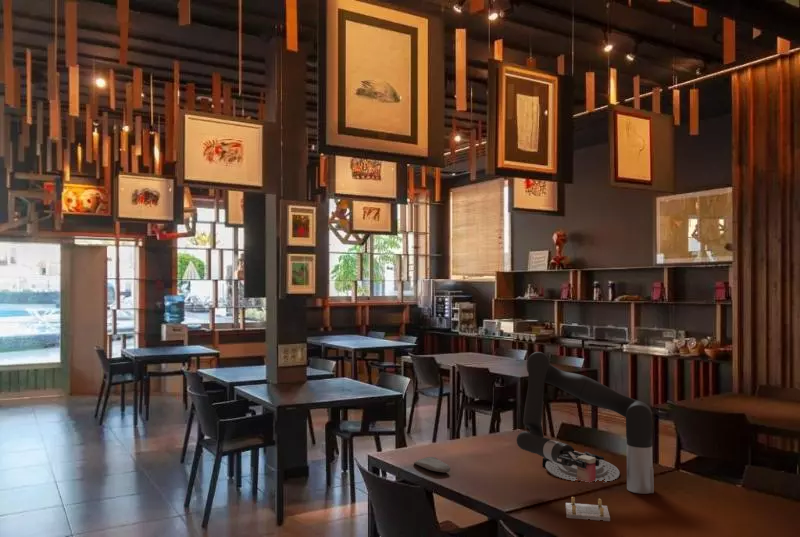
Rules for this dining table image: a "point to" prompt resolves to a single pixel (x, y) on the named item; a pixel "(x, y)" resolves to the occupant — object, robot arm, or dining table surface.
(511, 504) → the dining table surface
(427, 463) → the stone
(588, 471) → the small box
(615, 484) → the dining table surface
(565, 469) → the brake disc
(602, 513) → the chassis
